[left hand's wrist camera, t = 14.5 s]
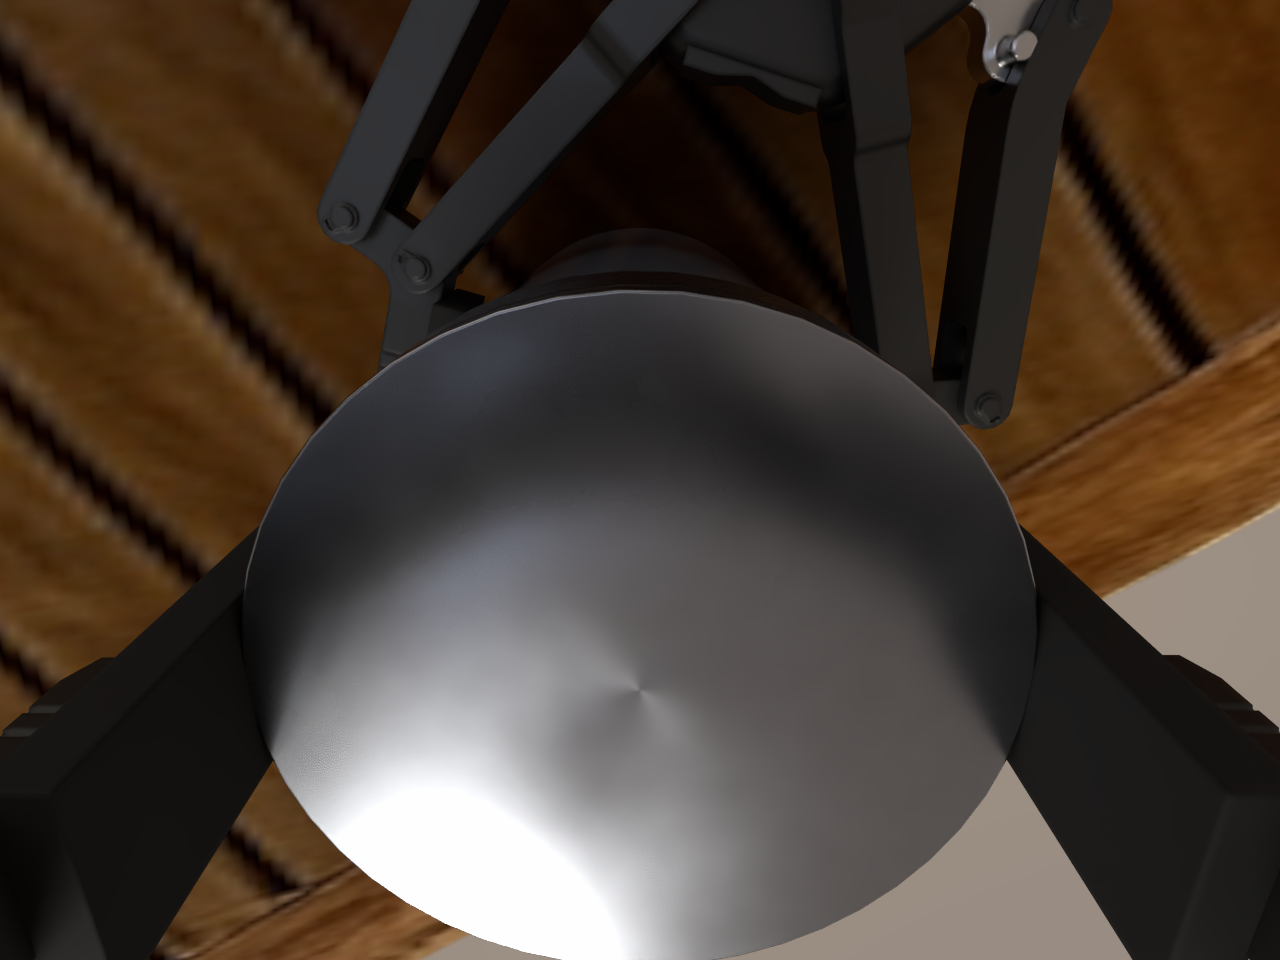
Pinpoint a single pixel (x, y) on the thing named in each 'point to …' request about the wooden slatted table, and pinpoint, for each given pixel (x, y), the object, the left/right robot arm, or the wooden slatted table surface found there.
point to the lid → (639, 622)
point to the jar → (638, 257)
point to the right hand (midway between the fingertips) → (598, 572)
